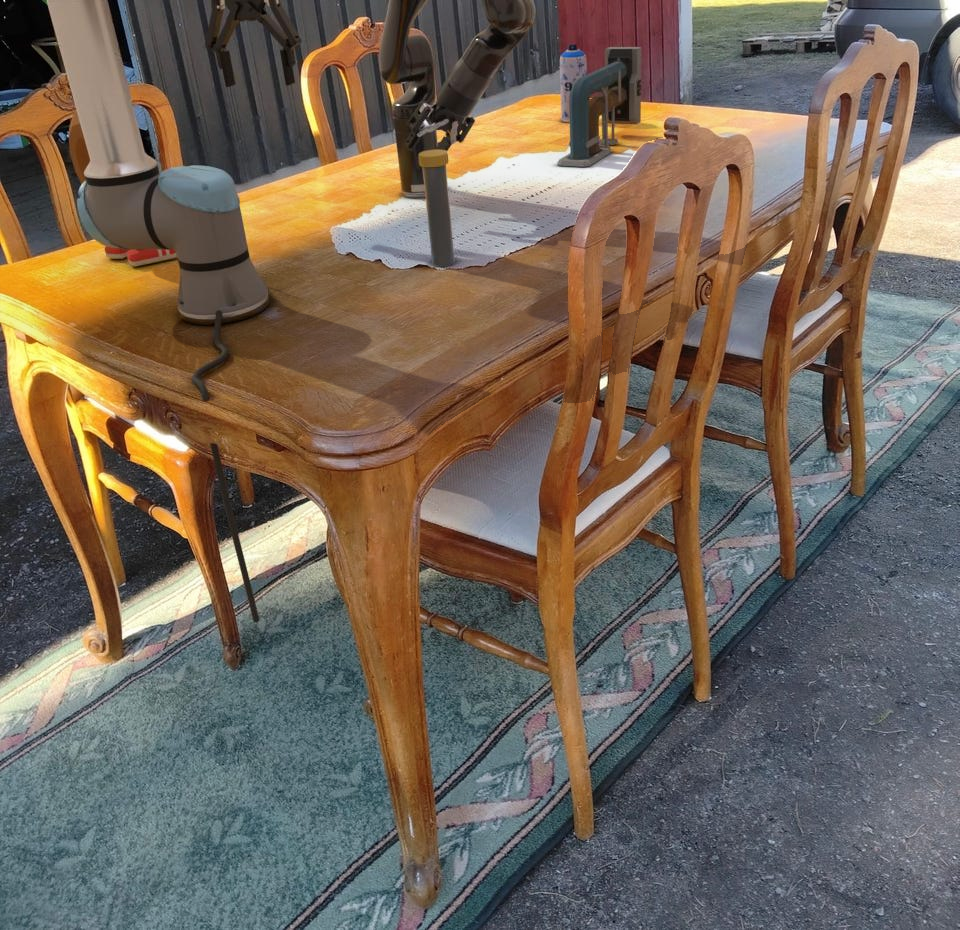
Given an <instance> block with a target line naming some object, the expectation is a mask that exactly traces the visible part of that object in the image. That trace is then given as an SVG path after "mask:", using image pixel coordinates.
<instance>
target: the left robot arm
mask: <svg viewBox="0 0 960 930" xmlns="http://www.w3.org/2000/svg"><path fill="white" fill-rule="evenodd" d="M46 4H47V7H48V12H49V15H50V19H51V22H52V26H53V29H54V33H55V37H56V40H57V44H58V47H59V51H60V54H61V55H60V56H61V58H62V63H63V66H64V69H65V73H66V77H67V80H68V85H69V87H70V91H71V96H72V98H73V101H74V106H75V109H76V110H75V111H77V113H78V117H79V121H80V124H81V128H82V132H83V135H84V139H85V143H86V146H87V150H88V153H89V157H90V163H89V164H88V166H87V168H86V169H85V171H84V175H85V179H86V181H84V182H83V184H81V185H80V186H79V189H78V193H77V194H78V196H79V198H77V199H76V205H77V211H78V212H77V213H78V215H79V219H80V221H81V224H82V226H83V228H84V229H85V231H86V232H87V233H88V235H89V236H90V237H91V238H92V239H93V240H95V241H96V242H97V243H99V244H100V245H102V246H104V247H105V246H107V247H113V248H120V249H124V250H133V249H159V250H175V251H176V255H177V257H176V259H177V262H178V266H179V283H178V294H177V310H178V314H179V318H180V319H182V320H183V321H184V322H186V323H189V324H193V325H202V326H203V325H204V326H205V325H206V326H210V325H214V327H213V335H212V337H213V338H212V340H213V344H214V346H215V347H216V348H217V349H218V350H219V351H220V352H221V354H220V355H219V356H218V357H217V358H215V359H214V360H212V361H210V362H208V363H205V364H204V365H202V366H200V367H198V369H196V370H195V371H194V373H193V374H192V376H191V379H190V380H191V382H192V384H193V385H194V386H196V387H197V388H198V389H199V392H200V395H201V399H202V401H203V402H208V401H210V395H209V392H208V388H207V386H206V384H205V383H204V382H203V381H202V380H201V379H200V377H202V375H204V374H206V373H207V372H209V371H211V370H212V369H214V368H216V367H217V366H219V365H221V364H222V363H224V362H225V361H226V360H227V358H228V356H229V350H228V347H226V345H224V344H223V342H221V339H220V335H221V329H222V324H230V323H233V322H239V321H241V320H245V319H248V318H251V317H253V316H256V315H258V314H260V312H263V311H264V310H265V309H266V308H267V307H268V306H269V305H270V296H269V291H268V286H267V282H266V281H265V280H263V279H262V278H261V276H260V274H259V272H258V270H257V269H256V267H255V265H254V264H253V262H252V260H251V257H250V251H249V246H248V241H247V236H246V232H245V226H244V225H245V224H244V220H243V216H242V210H241V206H240V204H241V199H240V196H239V194H238V191H237V188H236V184H235V181H234V179H233V177H232V176H231V175H230V174H229V173H227V171H225V170H223V169H221V168H217V167H214V166H208V165H198V164H197V165H195V164H194V165H187V166H185V165H180V166H173V167H169V168H166V169H164V170H162V171H161V172H160V170H159V165H158V161H157V160H156V159H154V158H153V157H152V156H150V155H149V154H147V152H146V151H145V148H144V142H143V139H142V135H141V132H140V127H139V123H138V120H137V116H136V112H135V107H134V103H133V99H132V95H131V91H130V87H129V83H128V79H127V74H126V70H125V67H124V63H123V59H122V58H123V57H122V54H121V50H120V46H119V42H118V38H117V34H116V30H115V26H114V22H113V17H112V13H111V9H110V6H109V1H108V0H46ZM210 4H211V5H210V6H211V14H210V17H209V23H208V27H207V33H206V38H205V43H204V47H205V49H206V50H211V51H214V53H215V57H216V62H217V66H218V68H219V70H222V75H223V79H224V85H225V88H230V87H233V86H235V85H236V79H235V73H234V69H233V63H232V58H231V53H230V50H227V48H226V47H227V46H228V44H229V41H230V39H231V37H232V35H233V33H234V31H235V29H236V27H237V25H238V23H240V22H246V21H248V22H254V21H257V22H258V23H260V24H261V25H262V26H263V27H264V28H265V29H266V31H267V32H268V33H269V34H270V35H271V36H272V37H273V38H274V39H275V40H276V41H277V43H278V45H280V46H281V47H282V48H281V49H279V53H280V59H281V64H282V65H281V66H282V71H283V77H284V83H285V86H291V85H294V84H295V83H296V80H295V79H296V78H295V73H294V66H296V56H295V49H294V48H295V47H296V46H298V45H301V44H302V37H301V36H300V35H299V33H298V31H297V30H296V28H295V26H294V25H293V22H292V21H291V19H290V18H289V15H288V14H287V12H286V11H285V9H284V7H283V5H282V1H281V0H210ZM266 5H267V7H268V8H270V10H271V13H272V14H273V16H274V17H275V19H276V21H277V22H278V24H277V23H276V22H275V20H274V19H273V18H272V16H271V14H270V13H269V12H268V11H267V9H265V6H266ZM225 8H227V9H228V11H229V12H228V14H227V16H226V18H225V23H224V25H223V27H222V29H221V25H222V22H223V21H222V20H223V15H224V10H225ZM220 30H221V31H220ZM209 444H210V450H211V455H212V459H213V464H214V468H215V472H216V477H217V481H218V486H219V489H220V495H221V498H222V503H223V506H224V511H225V515H226V518H227V522H228V526H229V530H230V534H231V538H232V542H233V545H234V550H235V554H236V558H237V561H238V565H239V569H240V573H241V578H242V581H243V585H244V589H245V594H246V597H247V601H248V605H249V610H250V614H251V618H252V622H253V623H258V622H260V617H259V616H260V615H259V611H258V608H257V604H256V599H255V596H254V592H253V587H252V583H251V580H250V575H249V572H248V571H249V570H248V567H247V563H246V559H245V555H244V552H243V548H242V543H241V538H240V536H239V532H238V527H237V524H236V520H235V515H234V512H233V511H234V510H233V507H232V502H231V499H230V493H229V490H228V486H227V482H226V481H227V480H226V477H225V473H224V468H223V463H222V460H221V455H220V451H219V446H218V443H215V442H210V443H209Z"/></svg>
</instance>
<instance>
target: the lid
mask: <svg viewBox="0 0 960 930" xmlns="http://www.w3.org/2000/svg"><path fill="white" fill-rule="evenodd" d="M418 158H419V165H420V166H422V167H439V166H444V165H446V166H447V165H448V164H449V154H448V151H446V150H427V151H423V152H421V153H419V157H418Z"/></svg>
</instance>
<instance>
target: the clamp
mask: <svg viewBox="0 0 960 930" xmlns="http://www.w3.org/2000/svg"><path fill="white" fill-rule="evenodd" d="M596 93H600V94H597V95H595V96H593V97H591V96H592V95H594V94H596ZM641 106H642V47H641V46H609V47H606V48H605V66H603V67H601V68H599V69H597V70H594V71H592V72H590V73H587V75H585V76H583V77H581V78H579V79H578V81H577V82H576V83H575V84H574V85H573V86H572V89H571V91H570V96H569V114H570V122H569V142H568V147H569V151H570V153H568V154H566V155H564V156H562V157H561V158H559V159H558V161H557V163H556V165H558V166H561V167H562V166H563V167H581V168H584V167H591V166H592V165H593V164H595V163H597V162H598V161H600V160H601V159H603V158H605V157H606V156H607V155H609V154H611V153H612V152H613V151H612V149H611V146H616V145H617V144H619V140H618V138H615V125H638V124H640V123H641V122H642V120H641V119H642V117H641V115H642V114H641V113H642V107H641ZM600 116H601V136H600ZM610 124H611V136H610V138H609V125H610Z"/></svg>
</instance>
